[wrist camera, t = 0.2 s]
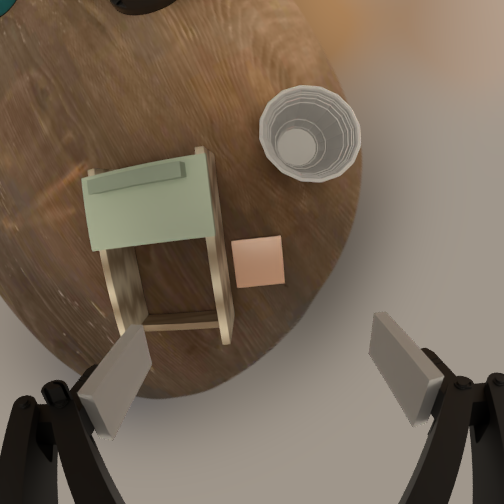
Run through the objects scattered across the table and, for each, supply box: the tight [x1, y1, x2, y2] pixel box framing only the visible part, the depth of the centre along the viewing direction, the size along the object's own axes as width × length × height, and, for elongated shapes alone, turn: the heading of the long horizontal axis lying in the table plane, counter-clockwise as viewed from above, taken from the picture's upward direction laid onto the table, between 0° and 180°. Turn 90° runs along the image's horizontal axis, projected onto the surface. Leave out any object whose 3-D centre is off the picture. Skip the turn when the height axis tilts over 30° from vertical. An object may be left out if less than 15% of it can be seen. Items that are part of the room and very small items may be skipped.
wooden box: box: [88, 146, 235, 345], centre depth 38 cm, size 24×15×9 cm, turn 6°
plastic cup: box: [259, 85, 361, 182], centre depth 34 cm, size 11×11×12 cm
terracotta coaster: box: [231, 235, 285, 288], centre depth 43 cm, size 7×7×1 cm
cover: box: [81, 153, 216, 251], centre depth 30 cm, size 9×16×3 cm, turn 96°
